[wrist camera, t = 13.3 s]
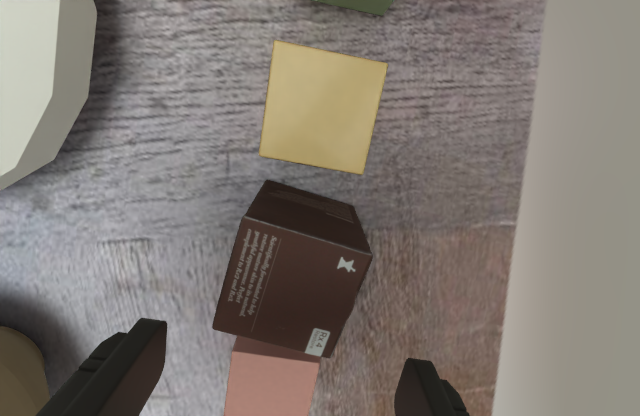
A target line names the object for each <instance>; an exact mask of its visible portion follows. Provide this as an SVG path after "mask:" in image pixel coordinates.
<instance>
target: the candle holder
mask: <svg viewBox="0 0 640 416" xmlns="http://www.w3.org/2000/svg"><path fill="white" fill-rule="evenodd" d="M96 20H97V10H96V7H95V4H94V0H0V191H1V190H3V189H5V188H6V187H8V186H10V185H11V184H13V183H15V182H17V181H18V180H20V179H22V178H23V177H25V176H27V175H29V174H30V173H32V172H34V171H35V170H37V169H39V168H40V167H42V166H44V165H46V164H47V163H49V162H51V161H52V160H54V159H55V157H56V155H57V153H58V152H59V150H60V148H61V146H62V144H63V142H64V141H65V139H66V137H67V135H68V133H69V131H70V130H71V128H72V126H73V124H74V122H75V120H76V119H77V117H78V115H79V113H80V111H81V109H82V107H83V106H84V104H85V102H86V100H87V98H88V94H89V84H90V75H91V66H92V57H93V48H94V38H95V29H96Z"/></svg>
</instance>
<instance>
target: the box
mask: <svg viewBox="0 0 640 416" xmlns="http://www.w3.org/2000/svg"><path fill="white" fill-rule="evenodd" d="M372 259H373V254H372V252H371V250H370V247H369V244H368V241H367V239H366V237H365V234H364V232H363V229H362V226H361V224H360V221H359V219H358V216H357V214H356V211H355V208H354V207H353V206H351V205H348V204H345V203H342V202H338V201H335V200H332V199H329V198H325V197H322V196H319V195H316V194H312V193H309V192H306V191H303V190H299V189H296V188H293V187H290V186H286V185H283V184H280V183H277V182H273V181H270V180H266V181H265V182H264V184H263V186H262V187H261V189H260V191H259V192H258V194H257V195H256V197H255V199H254V201H253V202H252V204H251V206H250V207H249V209H248V211H247V213H246V214H245V215H244V216H243V218H242V220H241V223H240V226H239V230H238V232H237V236H236V239H235V243H234V246H233V250H232V253H231V257H230V261H229V264H228V268H227V272H226V276H225V279H224V282H223V286H222V290H221V294H220V298H219V301H218V305H217V308H216V313H215V317H214V321H213V326H212V328H213V329H214V330H218V331H222V332H225V333H230V334H233V335H238V336H242V337H245V338H249V339H253V340H257V341H261V342H265V343H269V344H273V345H277V346H281V347H285V348H288V349H292V350H296V351H300V352H303V353H307V354H311V355H315V356H320V357H325V358H331V357H332V355H333V353H334V350H335V348H336V345H337V343H338V341H339V338H340V336H341V333H342V331H343V328H344V326H345V323H346V321H347V319H348V318H349V316H350V314H351V312H352V311H353V308H354V305H355V299H356V297H357V294H358V292H359V290H360V287H361V285H362V282H363V280H364V278H365V275H366V273H367V271H368V269H369V266H370V264H371V261H372Z"/></svg>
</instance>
